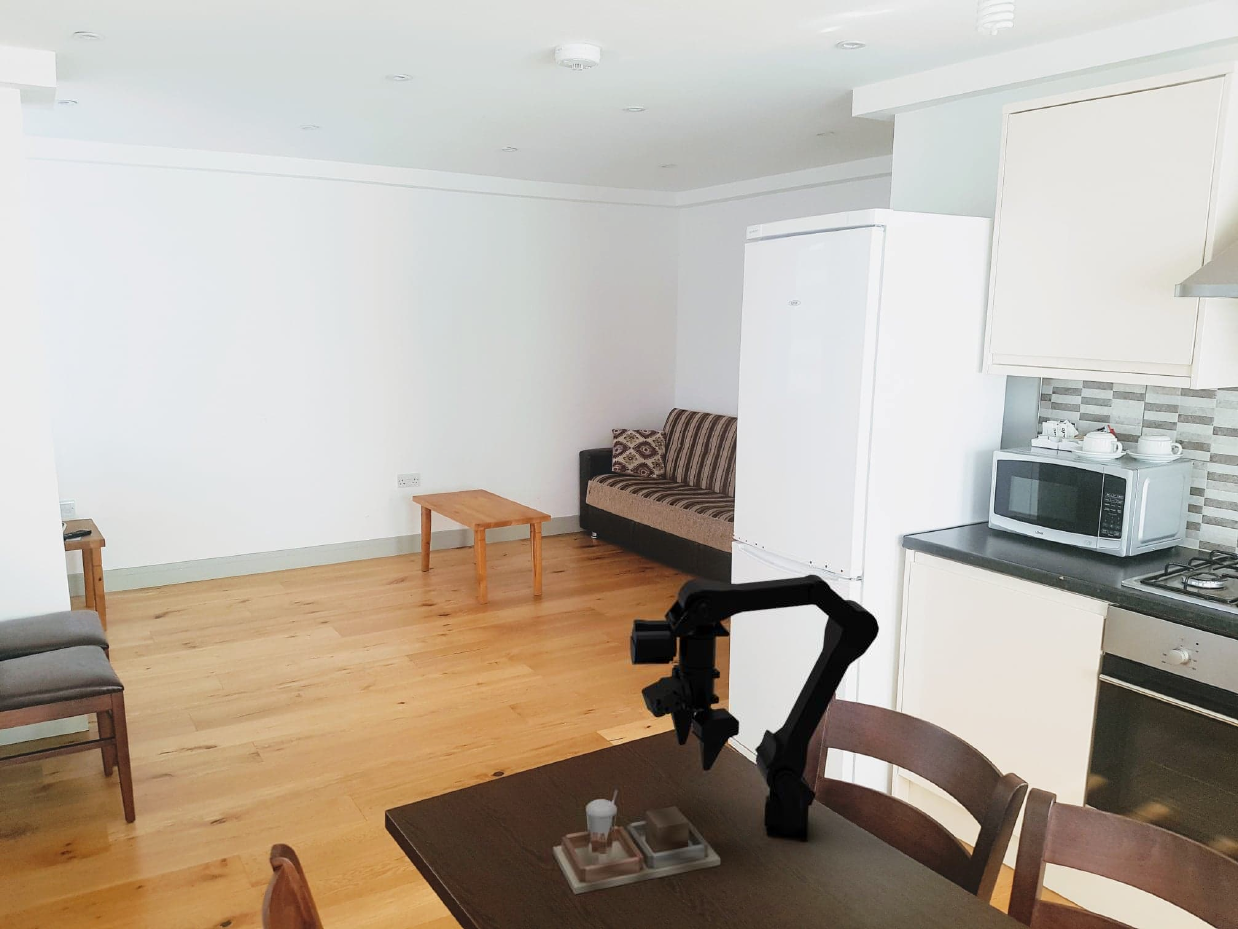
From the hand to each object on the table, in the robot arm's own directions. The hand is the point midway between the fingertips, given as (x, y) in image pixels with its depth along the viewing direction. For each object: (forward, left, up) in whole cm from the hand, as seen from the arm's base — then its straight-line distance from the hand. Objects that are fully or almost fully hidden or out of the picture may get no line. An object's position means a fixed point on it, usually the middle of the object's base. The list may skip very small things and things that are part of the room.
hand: (693, 757), depth 147 cm
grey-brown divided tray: (+7, +9, -13) cm, 17 cm away
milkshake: (+12, +12, -12) cm, 21 cm away
